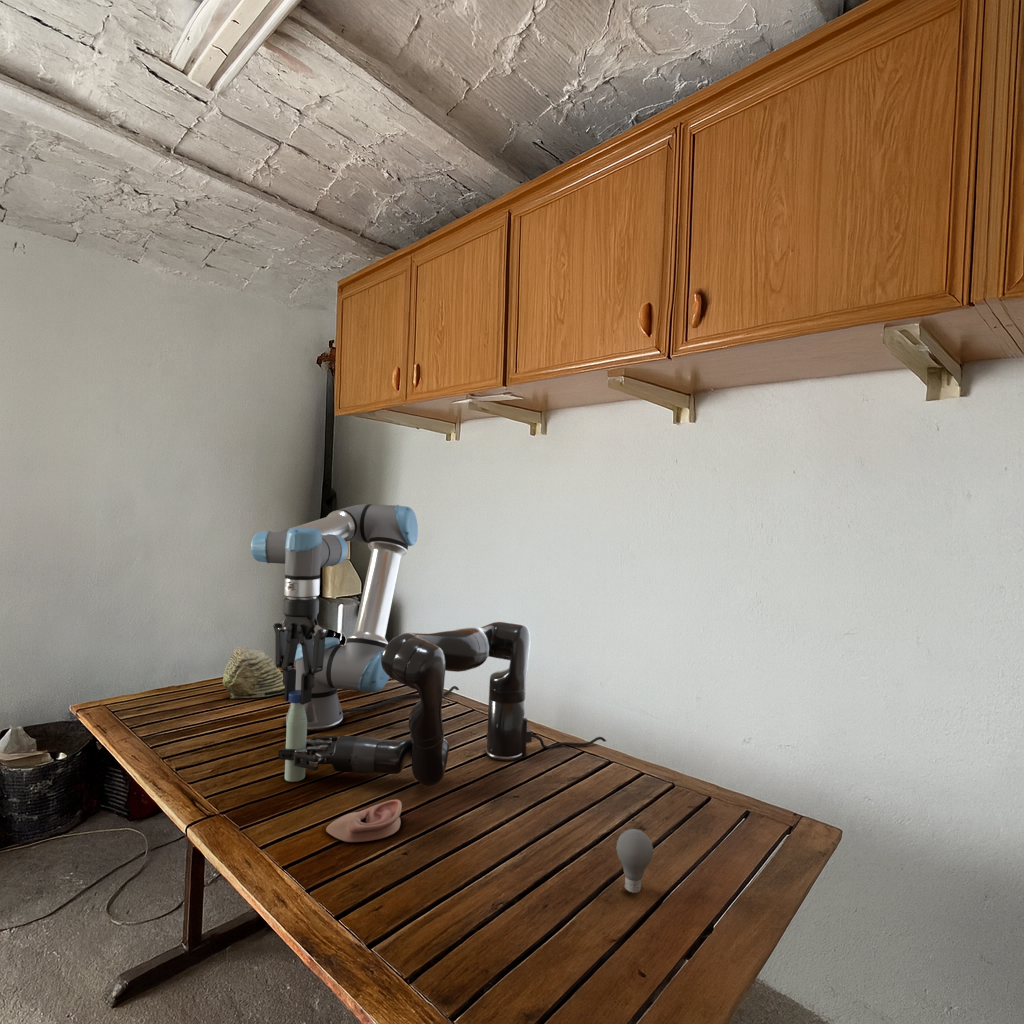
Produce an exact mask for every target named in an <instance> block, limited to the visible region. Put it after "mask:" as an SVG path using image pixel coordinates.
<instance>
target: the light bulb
mask: <svg viewBox="0 0 1024 1024" xmlns="http://www.w3.org/2000/svg"><path fill="white" fill-rule="evenodd" d="M615 849H616V854H617V857H618V859H619V861H620V863H621V865H622V867H623V873H624V874H623V875H624V876H625V878H624V888H625V890H627V891H628V892H630V893H634V894H635V893H639V892H640V891H641V889H642V887H641V886H642V879H643V877H644V875H645V871H646V868H647V867H648V866H649V864H650V863H651V861H652V859H653V855H654V847H653V843H652V841H651V838H649V836H648V835H647V834H646V833H645V832H643V831H642V830H641V829H636V828H629V829H627V830H625V831H623V832H622V833H621V834H620V835H619V837H618V839H617V841H616V847H615Z"/></svg>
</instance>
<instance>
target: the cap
mask: <svg viewBox="0 0 1024 1024" xmlns="http://www.w3.org/2000/svg"><path fill="white" fill-rule="evenodd" d="M287 702H289V704H291V703H300V702H301V690H293V691H290V692H289V700H288V701H287Z"/></svg>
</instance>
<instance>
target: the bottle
mask: <svg viewBox="0 0 1024 1024" xmlns="http://www.w3.org/2000/svg"><path fill="white" fill-rule="evenodd" d="M290 704H291V708H290V712H289V715H288V718H287V726H286V728H285V729H286V732H285V735H286V736H285V749H296V750H297V749H306V740H307V739H308V738H307V736H308V732H307V717H306V713H305V712H306V711H305V707H304V705H302V704H300V703H290ZM302 754H305V753H302ZM305 778H306V768H302V767H297V766H294V760H284V780H285V781H286V782H291V783H293V782H300V781H302V780H304V779H305Z"/></svg>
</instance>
